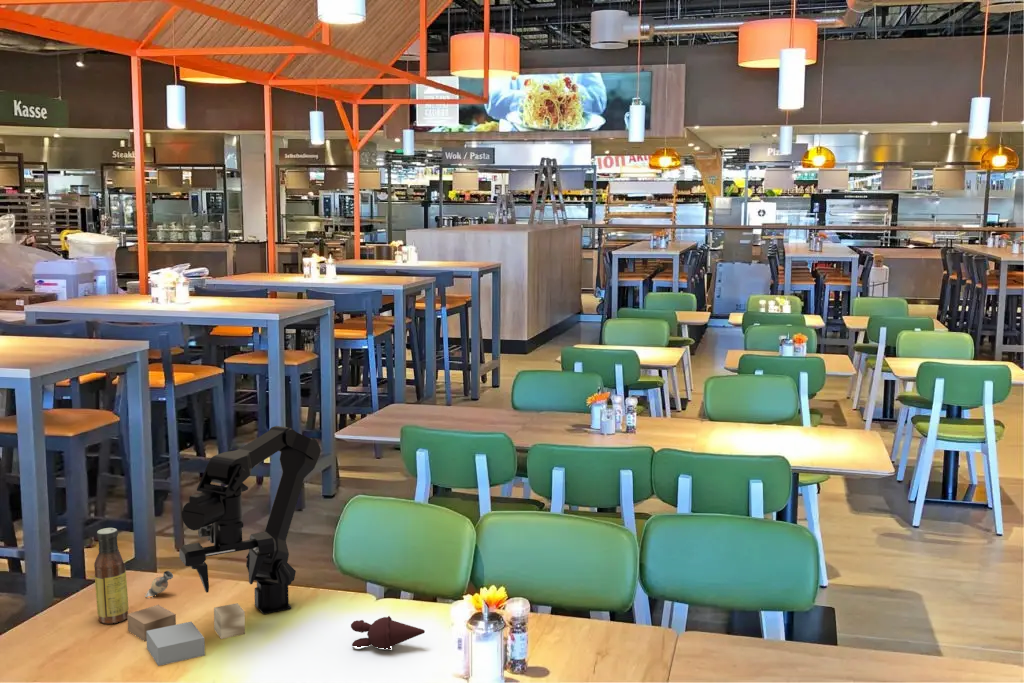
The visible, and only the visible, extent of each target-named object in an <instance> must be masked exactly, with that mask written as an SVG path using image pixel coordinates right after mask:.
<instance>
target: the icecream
mask: <svg viewBox="0 0 1024 683" xmlns="http://www.w3.org/2000/svg"><path fill="white" fill-rule="evenodd" d="M350 628H351V629H352V631H354V632H358V633H361V634H362V633H366V632H367V633H366V635H367V637H361V638H358V639H355V640H353V642H352V643H351V646H357V647H361V646H368V647H370V646H373V647H374V648H375V647H378V648H384V649H386V648H388V649H391V648H390V646H392V647H393V646H396V645H398V644H401V643H403V642H406V641H408V640H410V639H413V638H415V637H418V636H420V635H423V634H424V633H425V631H426V630H424V629H422V628H419V627H416V626H413V625H410V624H406V623H402V622H399V621H395V620H393V619H392V617H391V616H390V615H388V616H383V617H379V618H378V619H377V620H374V622H373V623H368V622H365V621H364V620H363V619H361V620H354V621H353V622H352V623H350ZM369 645H370V646H369Z"/></svg>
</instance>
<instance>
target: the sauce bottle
mask: <svg viewBox="0 0 1024 683" xmlns="http://www.w3.org/2000/svg"><path fill="white" fill-rule="evenodd" d="M118 536H119V535H118V529H117V528H114V527H106V528H100V529H99V530H97V532H96V537H97V539H98V540H97V541H98V554H97V556H96V558H95V560H94V564H93V565H94V581H95V582H94V583H95V584H94V586H95V597H96V598H95V599H96V610H97V616H98V621H99V622H100V623H103V624H107V625H110V624H111V625H112V624H113V623H114V624H118V622H119V623H121V622H123V621H125V620H127V614H129V595H128V580H127V571H126V570H127V569H126V564H125V562H124V560H123V558H122V555H121V554H122V553H121V552H120V549H119V547H118Z"/></svg>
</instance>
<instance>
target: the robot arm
mask: <svg viewBox="0 0 1024 683" xmlns="http://www.w3.org/2000/svg"><path fill="white" fill-rule="evenodd" d="M278 452H279V453H280V455H279V463H280V467H281V470H282V473H281V477H280V481H279V483H278V485H277V486H278V487H277V490H276V494H275V497H274V500H273V503H272V506H271V510H270V513H269V516H268V520H267V523H266V526H265V529H264V531H261V532H256V533H251V534H249V539H245V540H243V528H244V521H243V509H242V508H243V507H242V501H243V500H242V493H243V492H246V491H249V486H247V484H244V482H245V481H246V480H247V479H248V478H249V477H250V476H251V475H252V471H253V470H252V469H254V468H255V467H256V466H259V464H261V463H262V462H264V461H265V460H267V459H268V458H270V457H271V456H273V455H275V454H276V453H278ZM321 453H322V450H321V446H320V444H319V442H318V440H317V439H315V438H310V437H309V436H305V435H303V434H301V433H299V432H297V431H295V429H293V428H291V427H286V426H280V425H275V426H272V427H271V428H269V430H268V431H266V432H265V433H263V434H261V435H260V436H258V437H256V438H255V439H254V440H252V441H250V442H248V443H247V444H245V445H244V446H242V447H240V448H239V449H236V450H230V451H224V452H221V453H218V454H214V455H213V456H212V457H211V458H209V460H208V462H207V465H206V467H205V469H204V472H203V474H202V476H201V478H200V482H199V484H198V486H197V489H196V491H197V492H200V493H197V494H192V495H190V496H189V497H188V499H189V501H188V502H186V503H185V505H184V506H183V508H182V510H181V519H182V522H183V524H184V525H185V526H186V527H187V528H188V529H189V530H192V531H197V532H198V537H199V538H203V537H206V538H207V541H209V542H210V543H211V544H213V545H209V546H204V547H203V545H201V543H200V542H194V543H188V544H182V545H181V547H180V548H179V552H178V553H179V554H178V555H179V559H180V560H181V562H182V563H183V565H184V566H186V567H190V568H191V569H192V570H196V571H197V573H198V576H199V579H200V580H201V584H202V586H203V588H204V592H206V593H209V589H210V585H209V584H210V582H209V581H210V580H209V570H208V563H206V560H207V557H211V556H218V555H223V554H229V553H230V554H231V553H234V552H235V553H237V552H241V551H248V554H247V555H246V557H245V558H246V563H245V565H246V568H247V572H248V583H249V585H253V584H254V581H255V582H256V587H254V606H255V607H256V608H257V610H259V611H260V612H261V614H263V615H267V614H271V613H277V612H280V611H287V610H290V609H292V606H291V604H290V603H289V586H290V585H292V582H294V581H295V578H296V573H297V572H296V570H295V568H294V567H292V566H291V564H289V562H288V560H289V556H290V552H289V549H288V544H287V538H288V534H289V531H290V527H291V524H292V520H293V517H294V513H295V510H296V507H297V504H298V501H299V497H300V493H301V490H302V486H303V483H304V479H305V478H306V477H307V476H308V475H309V474H310V473H311V472H312V471H313V470H314V469H315V467H316V465H317V463H318V461H319V458H320V455H321ZM213 483H214V484H213ZM219 484H220V485H219ZM223 485H224V486H223Z"/></svg>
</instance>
